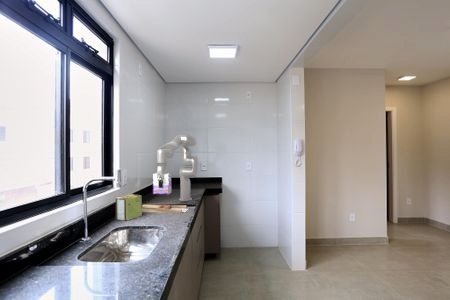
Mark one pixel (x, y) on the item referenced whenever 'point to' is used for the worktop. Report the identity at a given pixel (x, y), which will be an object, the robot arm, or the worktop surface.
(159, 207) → the frame
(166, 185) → the candy box
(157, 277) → the worktop surface
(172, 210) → the rail lane
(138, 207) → the protein box
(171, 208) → the pad
